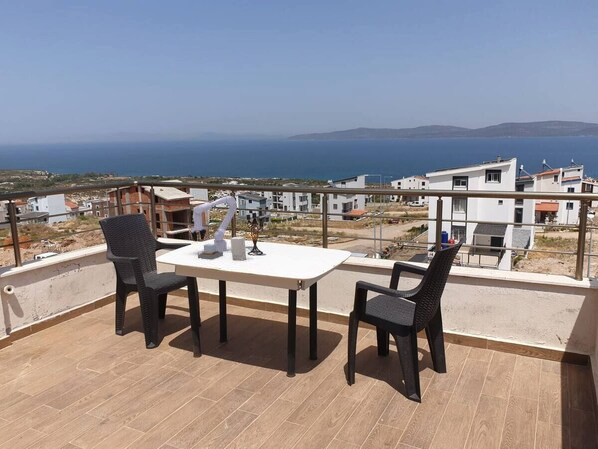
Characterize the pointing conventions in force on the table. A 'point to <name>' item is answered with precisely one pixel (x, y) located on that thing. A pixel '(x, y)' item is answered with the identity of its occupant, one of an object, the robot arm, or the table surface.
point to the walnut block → (209, 253)
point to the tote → (210, 256)
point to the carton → (210, 248)
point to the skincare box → (238, 248)
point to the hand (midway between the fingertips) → (199, 240)
